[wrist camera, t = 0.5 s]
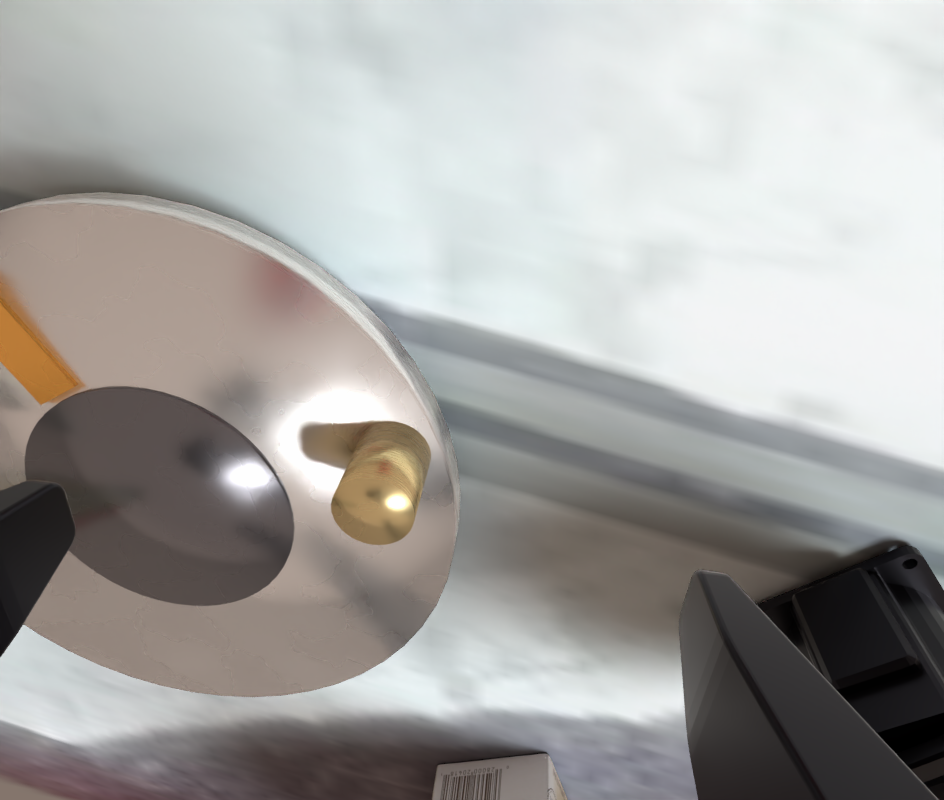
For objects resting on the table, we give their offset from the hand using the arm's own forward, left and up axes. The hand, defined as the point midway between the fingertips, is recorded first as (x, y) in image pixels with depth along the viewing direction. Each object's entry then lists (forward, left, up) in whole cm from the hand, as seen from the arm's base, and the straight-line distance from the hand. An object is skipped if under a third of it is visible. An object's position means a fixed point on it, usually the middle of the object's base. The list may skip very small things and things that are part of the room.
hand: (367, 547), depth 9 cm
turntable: (0, +14, -13) cm, 19 cm away
